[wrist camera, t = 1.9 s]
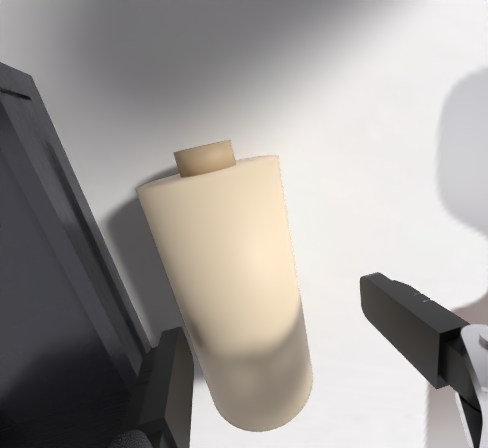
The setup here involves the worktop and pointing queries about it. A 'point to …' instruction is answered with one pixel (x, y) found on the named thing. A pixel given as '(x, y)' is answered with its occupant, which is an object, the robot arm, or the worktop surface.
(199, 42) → the worktop surface
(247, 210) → the cylinder
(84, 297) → the roll holder
